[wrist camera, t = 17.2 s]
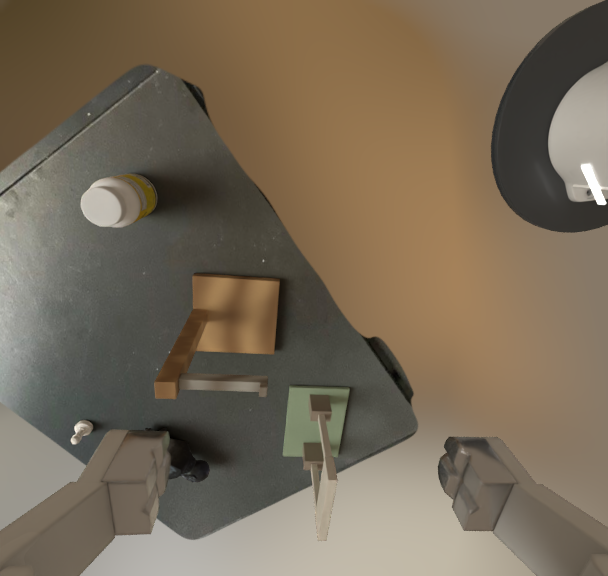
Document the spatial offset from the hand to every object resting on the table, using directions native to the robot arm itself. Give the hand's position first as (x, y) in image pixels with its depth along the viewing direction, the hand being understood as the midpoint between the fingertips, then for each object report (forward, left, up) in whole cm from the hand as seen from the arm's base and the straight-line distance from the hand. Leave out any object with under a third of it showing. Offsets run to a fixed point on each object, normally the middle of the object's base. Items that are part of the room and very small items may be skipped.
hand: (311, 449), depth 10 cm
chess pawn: (+30, +37, -39) cm, 62 cm away
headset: (-8, +35, -38) cm, 53 cm away
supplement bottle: (+19, -1, -39) cm, 44 cm away
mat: (-8, +35, -39) cm, 53 cm away
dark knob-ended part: (+16, +41, -39) cm, 59 cm away
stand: (+6, +15, -39) cm, 42 cm away
